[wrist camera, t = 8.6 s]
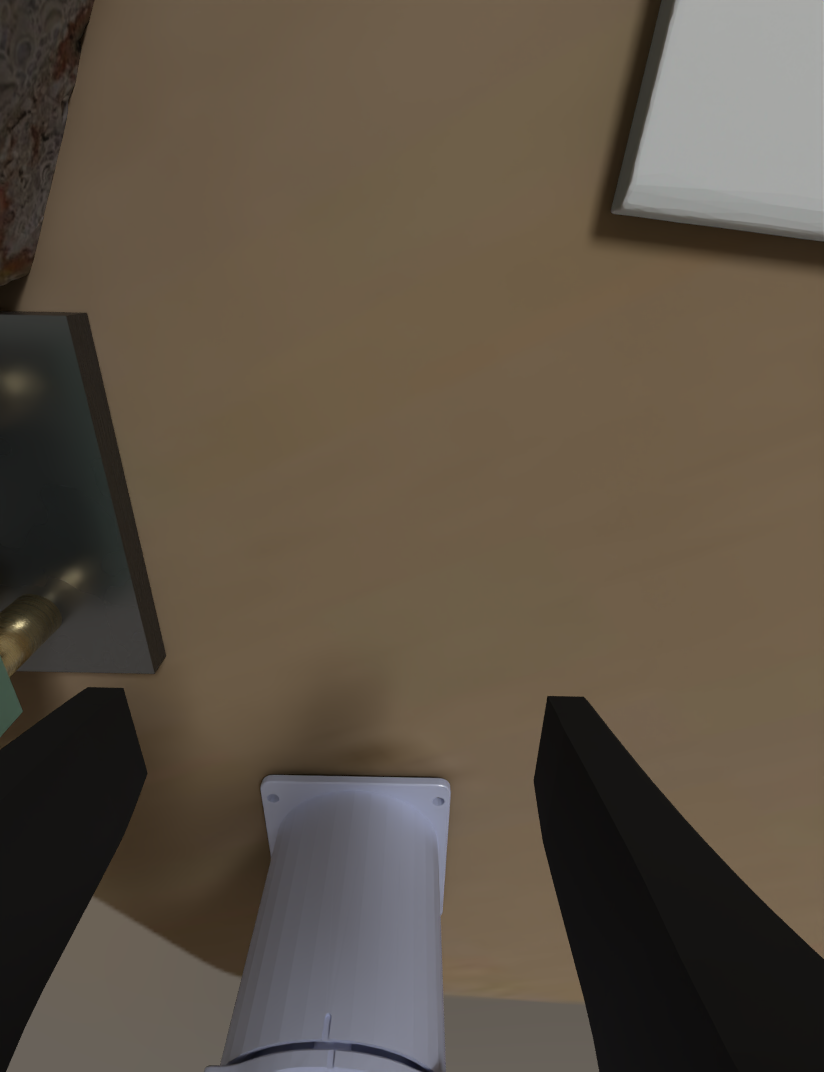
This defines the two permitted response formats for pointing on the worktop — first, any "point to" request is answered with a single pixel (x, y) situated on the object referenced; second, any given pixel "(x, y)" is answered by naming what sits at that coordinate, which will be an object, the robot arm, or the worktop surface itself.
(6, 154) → the geological specimen
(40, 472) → the plate
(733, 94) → the external hard drive
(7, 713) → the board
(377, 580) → the worktop surface
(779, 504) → the worktop surface
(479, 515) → the worktop surface
